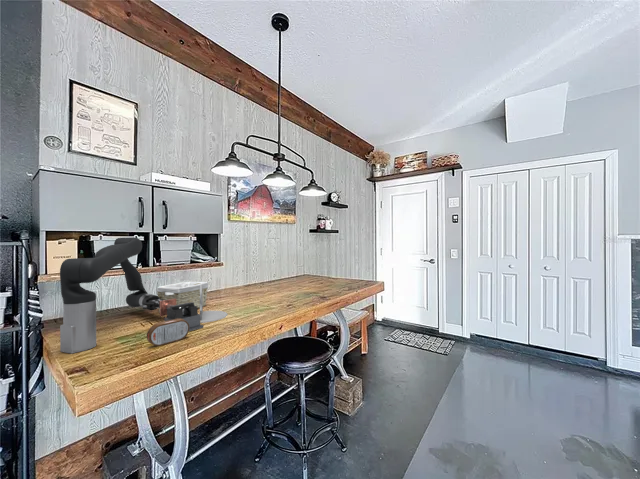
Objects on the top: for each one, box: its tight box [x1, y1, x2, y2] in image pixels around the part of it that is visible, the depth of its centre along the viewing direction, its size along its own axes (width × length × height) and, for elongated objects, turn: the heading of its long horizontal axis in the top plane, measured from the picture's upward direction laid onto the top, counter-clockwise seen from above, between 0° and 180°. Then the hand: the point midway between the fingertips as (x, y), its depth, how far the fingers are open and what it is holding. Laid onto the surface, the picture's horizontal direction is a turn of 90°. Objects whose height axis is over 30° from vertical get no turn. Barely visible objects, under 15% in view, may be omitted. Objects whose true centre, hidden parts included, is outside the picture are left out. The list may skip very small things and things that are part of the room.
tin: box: [146, 318, 190, 347], centre depth 108 cm, size 15×3×8 cm, turn 141°
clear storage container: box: [156, 280, 209, 313], centre depth 160 cm, size 24×16×15 cm
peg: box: [159, 298, 187, 317], centre depth 127 cm, size 15×7×7 cm, turn 52°
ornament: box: [199, 285, 229, 324], centre depth 145 cm, size 22×13×17 cm, turn 22°
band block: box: [163, 302, 204, 332], centre depth 123 cm, size 10×14×11 cm
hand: (164, 306), depth 134 cm, fingers closed
